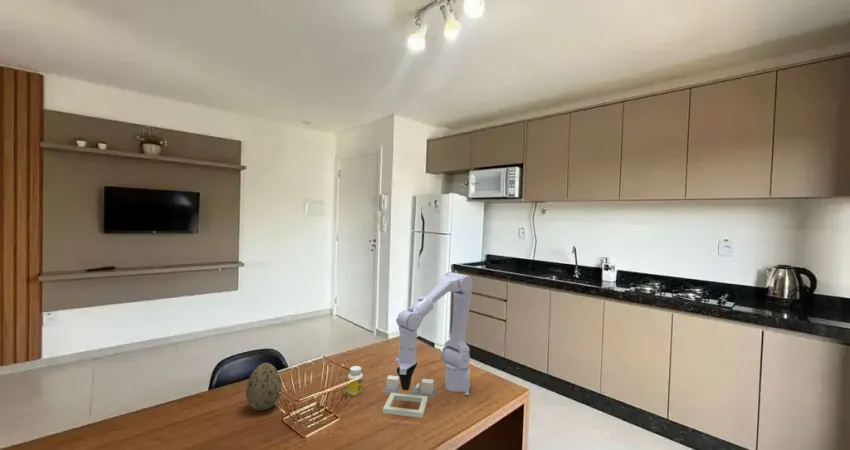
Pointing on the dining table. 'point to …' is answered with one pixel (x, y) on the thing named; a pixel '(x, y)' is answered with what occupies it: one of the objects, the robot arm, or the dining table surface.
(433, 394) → the block
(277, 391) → the decorative egg
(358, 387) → the supplement bottle
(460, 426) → the dining table surface
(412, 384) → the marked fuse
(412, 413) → the tray
